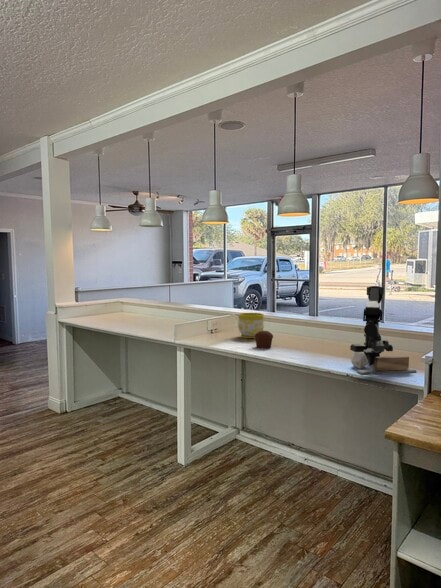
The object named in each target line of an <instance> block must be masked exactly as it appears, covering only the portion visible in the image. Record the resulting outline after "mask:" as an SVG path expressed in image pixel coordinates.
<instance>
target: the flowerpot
mask: <svg viewBox="0 0 441 588" xmlns="http://www.w3.org/2000/svg"><path fill="white" fill-rule="evenodd" d="M264 316H265V314H264V313H261V312H241V313H238V324H237V325H238V330H239V333H240V336H241V337H242V338H243V339H247V338H255V334H256V333H257V332H259V331H264V328H265V322H264Z"/></svg>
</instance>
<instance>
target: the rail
mask: <svg viewBox="0 0 441 588" xmlns="http://www.w3.org/2000/svg"><path fill="white" fill-rule="evenodd" d="M409 372H410V373H417V369H415V368H412V367H409V370H386V371H377V370H374V369H357V370H356V373H358V374H359V375H362V376H363V375H380V374H381V375H382V374H383V373H386V374H402V373H403V374H406V373H408V374H409Z"/></svg>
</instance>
